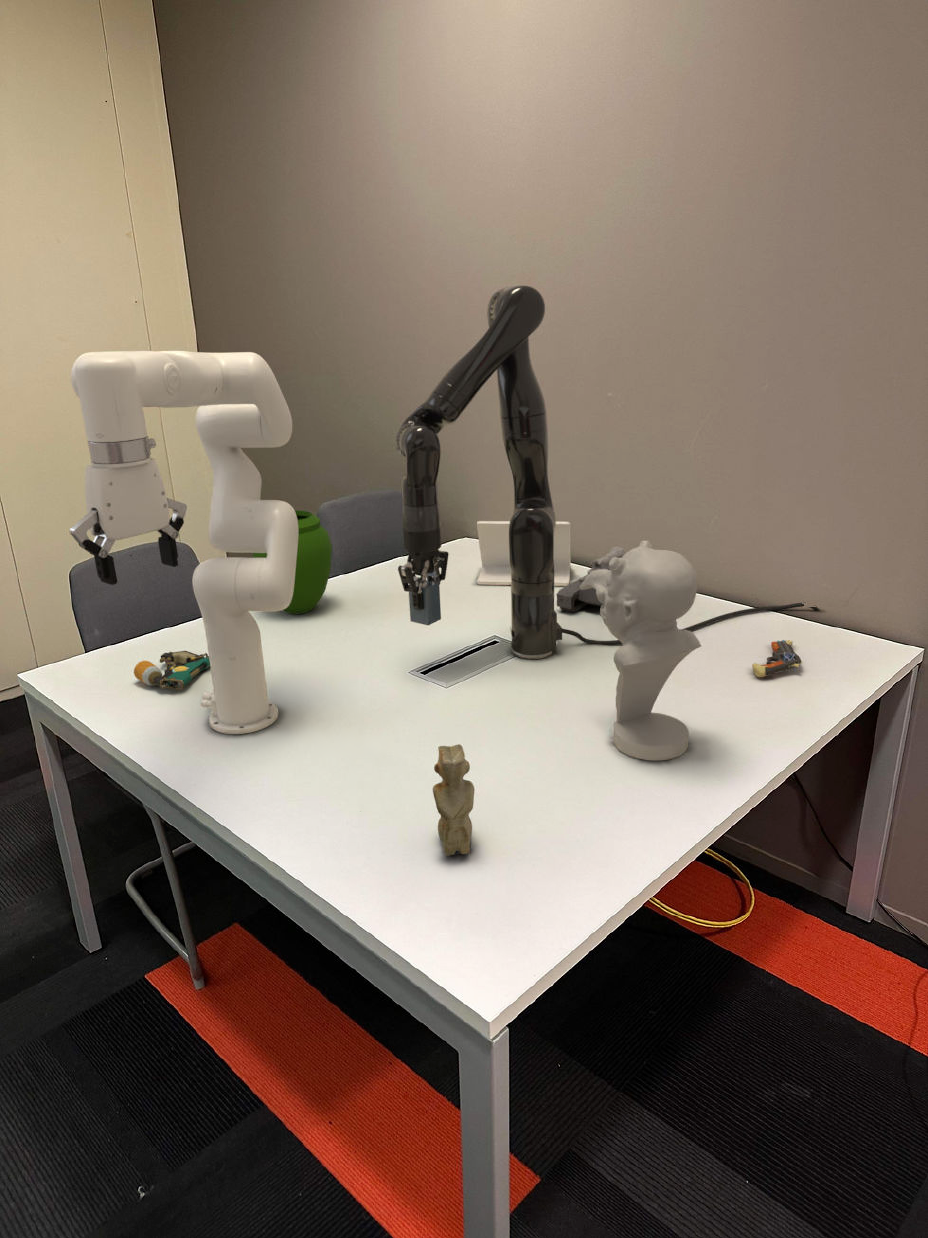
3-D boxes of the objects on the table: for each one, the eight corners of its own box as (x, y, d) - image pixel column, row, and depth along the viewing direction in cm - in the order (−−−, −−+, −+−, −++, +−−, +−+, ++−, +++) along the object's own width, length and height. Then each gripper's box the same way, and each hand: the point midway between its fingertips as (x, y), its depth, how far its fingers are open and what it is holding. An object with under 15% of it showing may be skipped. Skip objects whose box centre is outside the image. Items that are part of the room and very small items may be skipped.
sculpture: (474, 829, 125) (472, 739, 120) (477, 859, 119) (474, 765, 113) (434, 831, 125) (430, 741, 120) (435, 861, 119) (431, 767, 113)
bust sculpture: (625, 695, 166) (632, 519, 153) (713, 748, 146) (730, 550, 133) (556, 715, 159) (558, 532, 146) (639, 773, 139) (650, 567, 127)
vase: (352, 603, 220) (345, 511, 212) (301, 627, 205) (291, 529, 197) (296, 592, 230) (287, 503, 222) (243, 614, 215) (231, 520, 206)
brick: (423, 615, 180) (421, 579, 177) (441, 619, 178) (439, 582, 175) (410, 621, 177) (408, 584, 174) (428, 625, 174) (426, 588, 172)
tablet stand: (569, 585, 229) (570, 524, 223) (476, 584, 232) (475, 523, 226) (570, 566, 246) (571, 508, 240) (484, 564, 249) (483, 507, 243)
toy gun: (755, 668, 170) (808, 665, 168) (743, 639, 188) (791, 635, 186) (755, 681, 171) (808, 678, 169) (744, 650, 189) (791, 647, 187)
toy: (603, 584, 229) (605, 530, 224) (673, 597, 218) (677, 540, 213) (555, 612, 210) (556, 553, 205) (630, 627, 199) (633, 566, 194)
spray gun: (177, 659, 191) (231, 671, 185) (120, 684, 176) (176, 698, 171) (176, 641, 190) (230, 653, 184) (118, 665, 175) (174, 678, 169)
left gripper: (159, 441, 123) (177, 555, 129) (43, 460, 110) (68, 585, 116) (191, 445, 119) (207, 562, 125) (73, 465, 106) (98, 595, 112)
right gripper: (429, 515, 177) (433, 593, 183) (384, 531, 167) (389, 613, 173) (458, 519, 173) (461, 599, 179) (413, 535, 163) (418, 619, 169)
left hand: (140, 573), depth 121 cm, fingers open, 9 cm apart
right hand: (426, 605), depth 176 cm, fingers closed on brick, 4 cm apart
